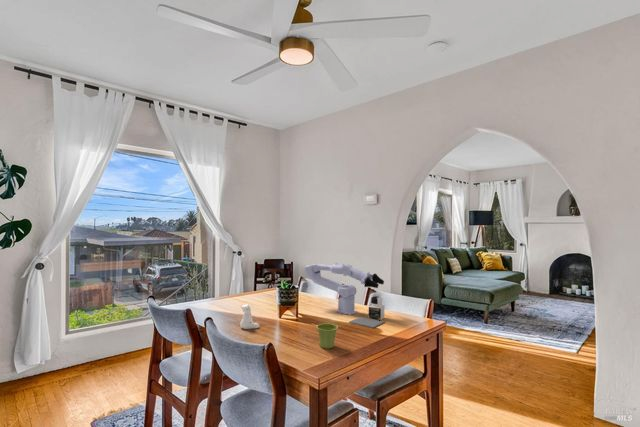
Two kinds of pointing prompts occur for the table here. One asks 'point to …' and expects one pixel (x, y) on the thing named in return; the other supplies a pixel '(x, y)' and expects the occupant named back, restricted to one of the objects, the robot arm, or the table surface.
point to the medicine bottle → (376, 309)
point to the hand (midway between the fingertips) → (380, 284)
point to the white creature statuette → (247, 319)
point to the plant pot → (327, 335)
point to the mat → (366, 322)
